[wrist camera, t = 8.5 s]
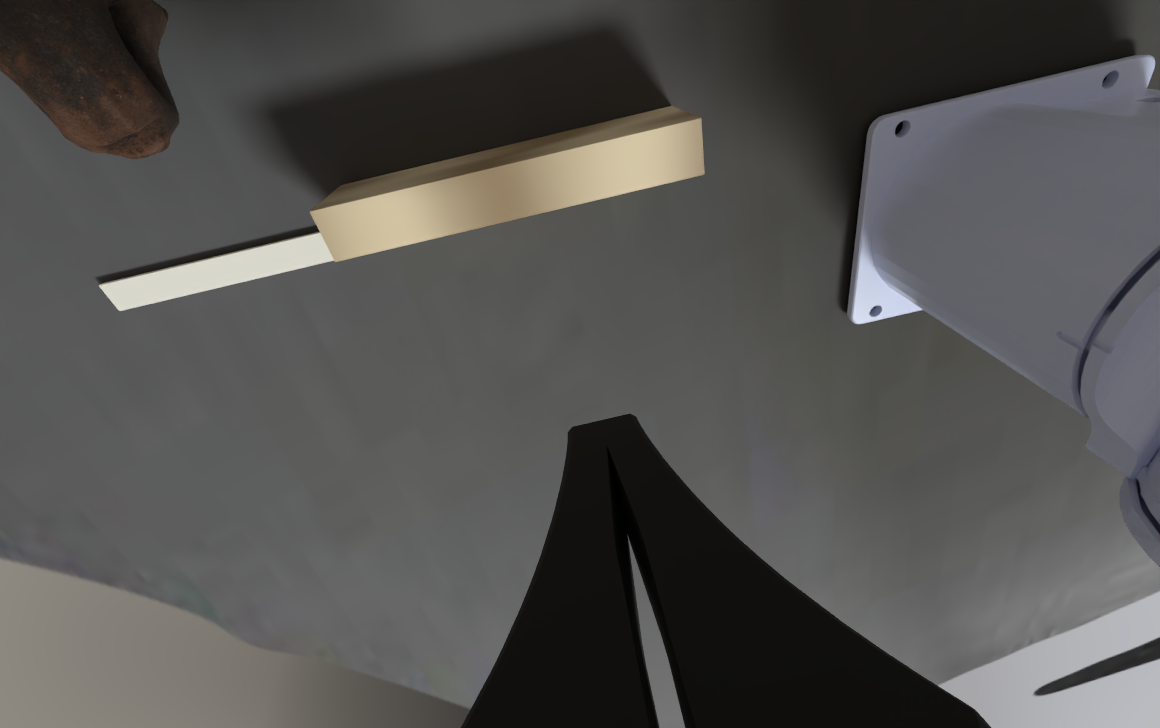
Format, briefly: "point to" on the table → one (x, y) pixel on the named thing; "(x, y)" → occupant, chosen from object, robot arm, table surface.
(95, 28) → the pottery mug
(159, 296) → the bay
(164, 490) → the table surface
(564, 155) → the cradle
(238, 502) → the table surface
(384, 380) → the table surface
